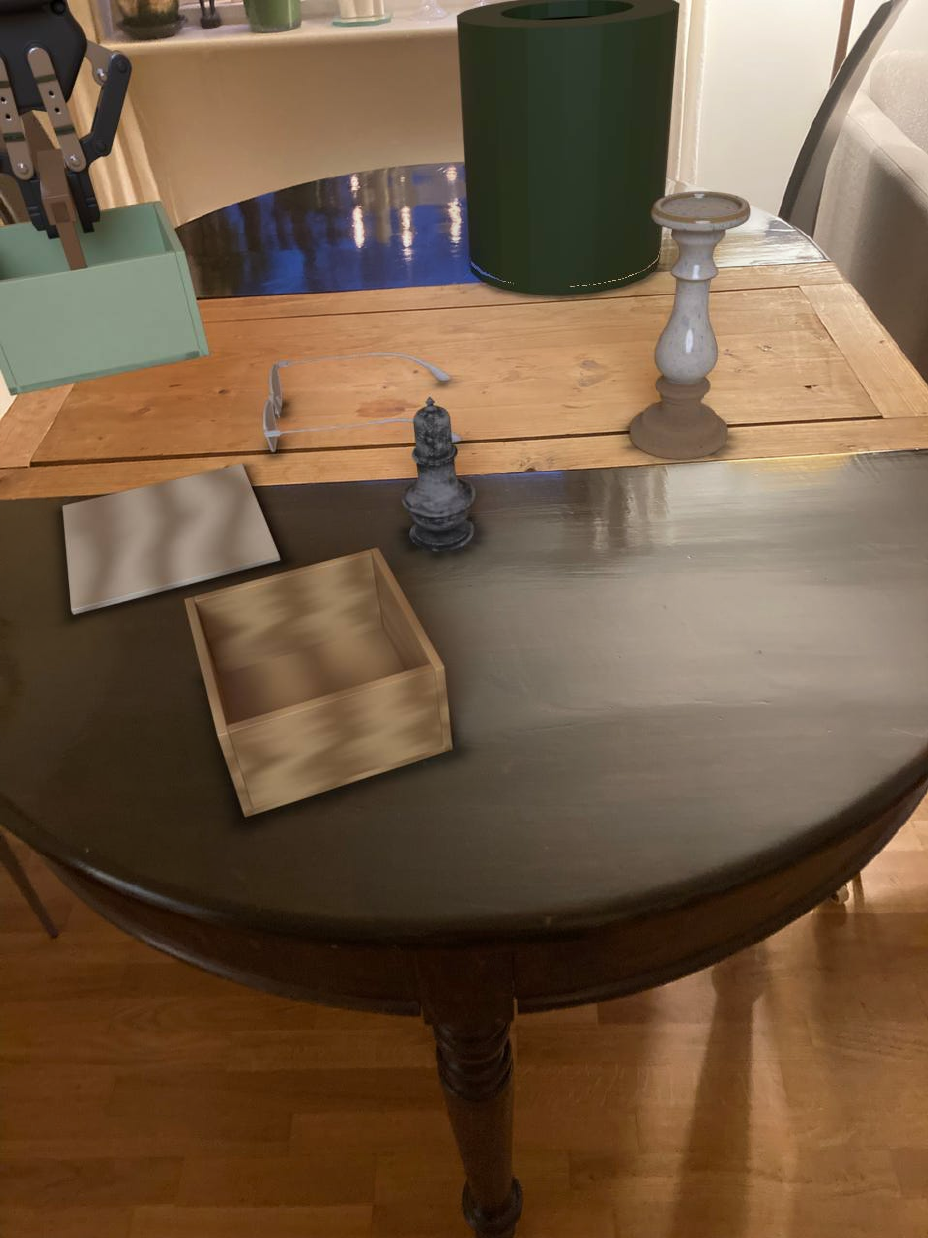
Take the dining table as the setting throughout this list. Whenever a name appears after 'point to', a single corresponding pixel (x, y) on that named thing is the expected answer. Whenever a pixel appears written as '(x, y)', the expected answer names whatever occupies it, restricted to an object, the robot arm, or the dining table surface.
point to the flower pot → (566, 139)
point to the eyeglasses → (272, 432)
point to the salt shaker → (437, 485)
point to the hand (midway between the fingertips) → (71, 231)
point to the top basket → (93, 292)
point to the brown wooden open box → (318, 679)
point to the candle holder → (688, 329)
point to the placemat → (163, 537)
